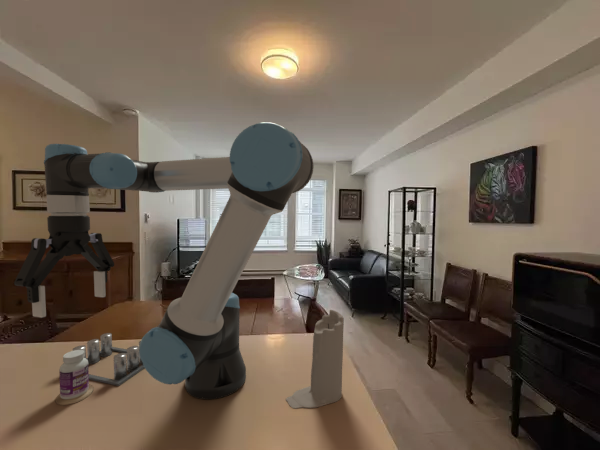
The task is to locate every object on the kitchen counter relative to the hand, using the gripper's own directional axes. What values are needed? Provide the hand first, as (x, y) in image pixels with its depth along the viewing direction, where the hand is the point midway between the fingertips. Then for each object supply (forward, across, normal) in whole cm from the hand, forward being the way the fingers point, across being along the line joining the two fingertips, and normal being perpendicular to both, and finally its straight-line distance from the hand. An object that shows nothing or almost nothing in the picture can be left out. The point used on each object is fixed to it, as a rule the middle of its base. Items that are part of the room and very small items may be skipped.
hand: (72, 305), depth 66 cm
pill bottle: (+21, 0, 0) cm, 21 cm away
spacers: (+22, -12, -3) cm, 25 cm away
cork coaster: (+22, 0, 0) cm, 22 cm away
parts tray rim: (+22, -12, -3) cm, 25 cm away
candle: (+22, -15, +55) cm, 61 cm away
